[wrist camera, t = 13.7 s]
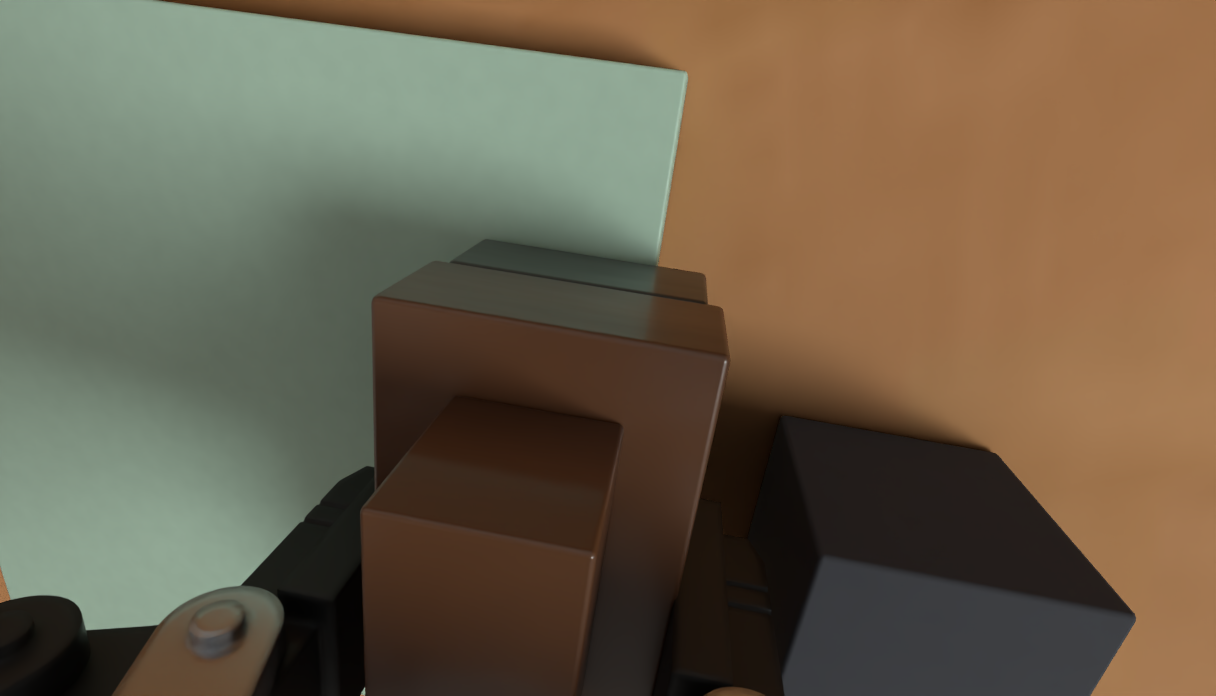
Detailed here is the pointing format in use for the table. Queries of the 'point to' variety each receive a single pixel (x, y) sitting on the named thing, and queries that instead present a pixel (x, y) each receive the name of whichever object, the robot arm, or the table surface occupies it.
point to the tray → (255, 261)
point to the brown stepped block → (534, 471)
